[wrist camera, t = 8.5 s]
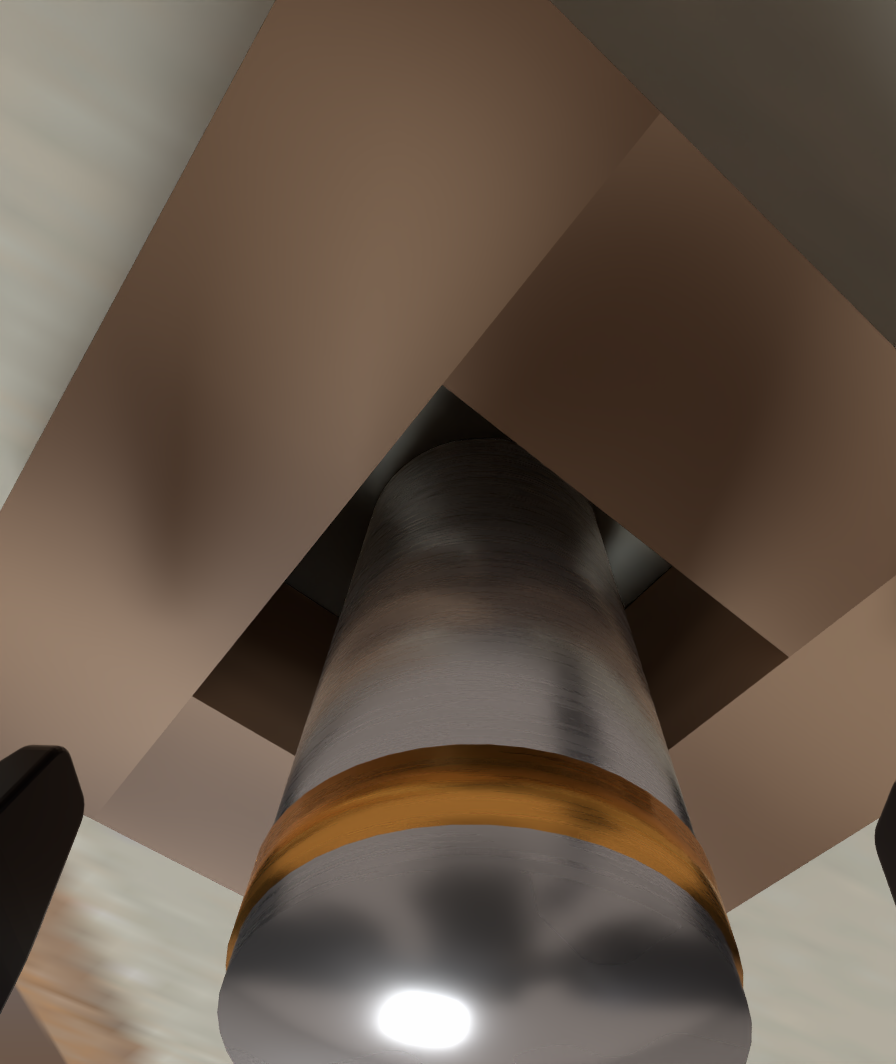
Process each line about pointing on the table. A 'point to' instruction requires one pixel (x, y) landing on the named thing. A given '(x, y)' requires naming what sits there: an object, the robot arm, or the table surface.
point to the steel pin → (482, 810)
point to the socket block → (487, 387)
